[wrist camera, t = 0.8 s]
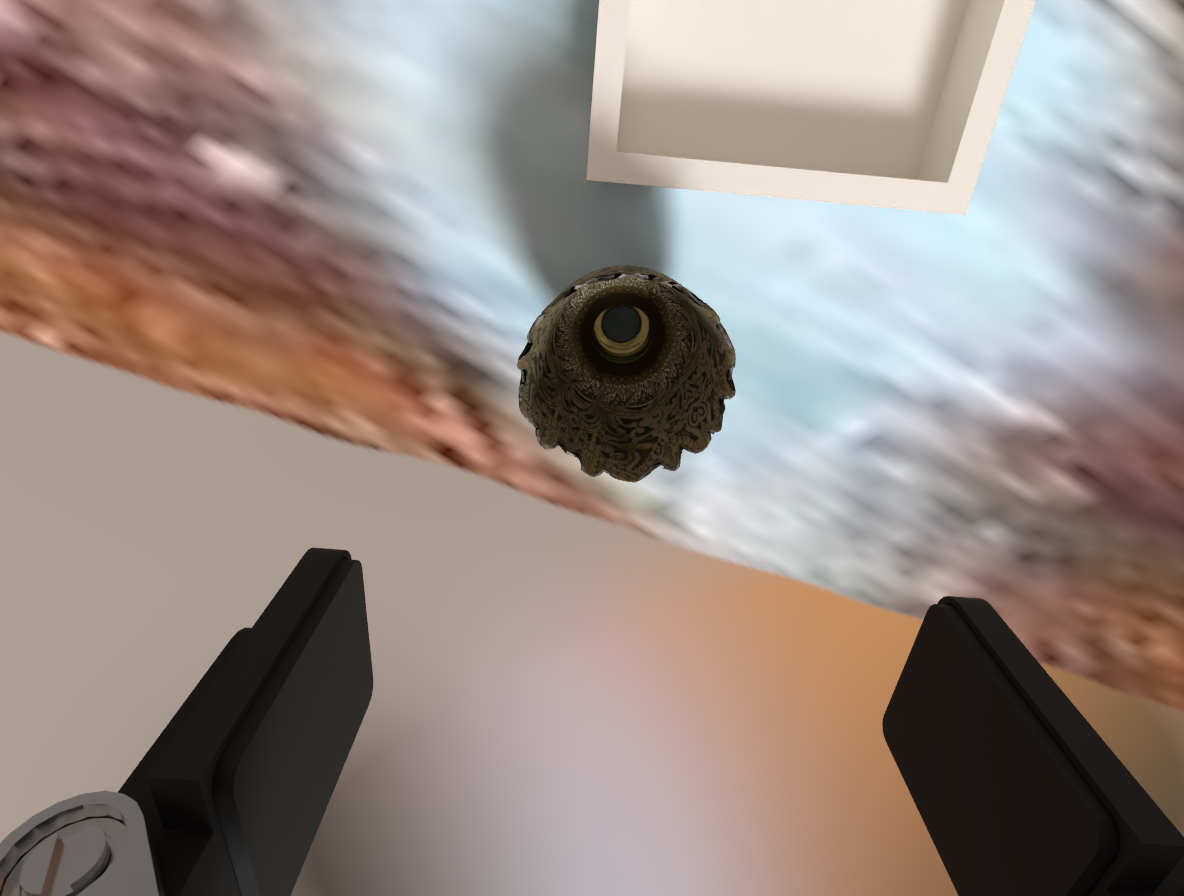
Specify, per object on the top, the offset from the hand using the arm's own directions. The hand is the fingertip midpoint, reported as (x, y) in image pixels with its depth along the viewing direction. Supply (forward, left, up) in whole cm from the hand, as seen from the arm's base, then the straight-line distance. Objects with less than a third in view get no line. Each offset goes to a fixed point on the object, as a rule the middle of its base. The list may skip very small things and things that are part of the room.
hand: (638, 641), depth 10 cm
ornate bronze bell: (0, 0, -20) cm, 20 cm away
